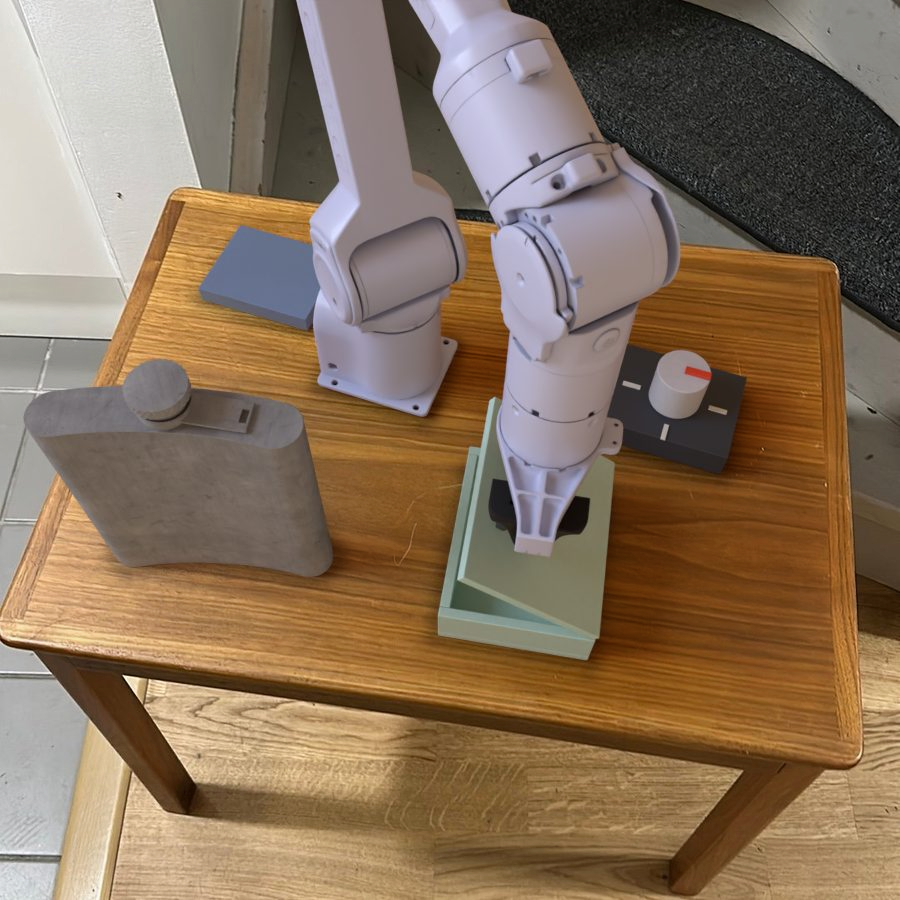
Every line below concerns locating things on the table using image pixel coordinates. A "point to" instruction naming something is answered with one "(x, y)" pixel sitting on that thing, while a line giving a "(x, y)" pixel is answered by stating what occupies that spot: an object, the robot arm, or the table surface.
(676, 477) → the table surface
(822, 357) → the table surface
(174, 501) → the hip flask
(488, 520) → the box lid
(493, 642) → the open box
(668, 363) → the dial
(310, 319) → the flat blue-gray rectangular slab
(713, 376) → the console
